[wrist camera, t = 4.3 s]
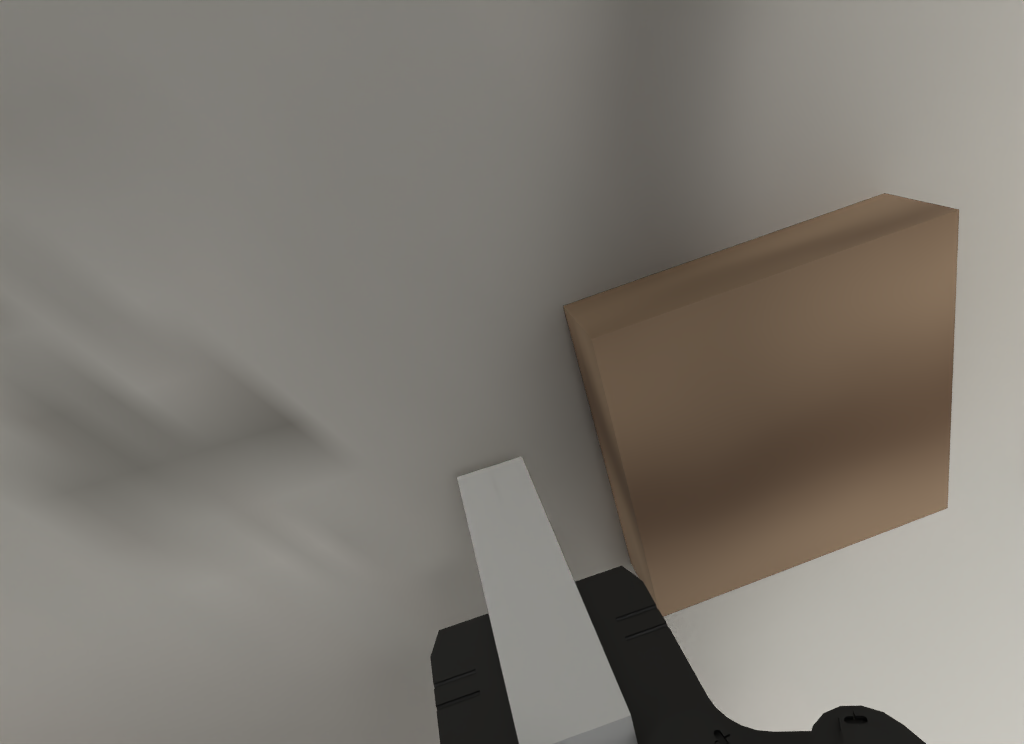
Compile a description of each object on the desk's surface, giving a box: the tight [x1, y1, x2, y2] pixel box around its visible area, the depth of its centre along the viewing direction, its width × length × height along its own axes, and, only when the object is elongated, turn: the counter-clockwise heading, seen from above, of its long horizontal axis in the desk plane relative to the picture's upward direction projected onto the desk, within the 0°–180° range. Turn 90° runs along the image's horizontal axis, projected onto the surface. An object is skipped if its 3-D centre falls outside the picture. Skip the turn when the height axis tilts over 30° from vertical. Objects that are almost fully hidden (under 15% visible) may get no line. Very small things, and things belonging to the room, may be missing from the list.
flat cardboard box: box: [563, 193, 959, 617], centre depth 16 cm, size 8×8×2 cm
